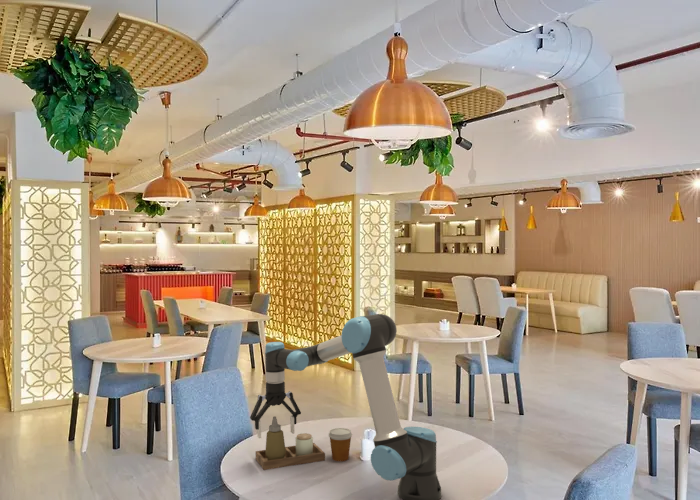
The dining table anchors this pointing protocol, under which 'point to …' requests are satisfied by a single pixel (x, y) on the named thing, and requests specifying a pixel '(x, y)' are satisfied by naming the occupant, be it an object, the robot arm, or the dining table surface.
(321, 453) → the caddy
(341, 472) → the dining table surface
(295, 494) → the dining table surface
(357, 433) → the dining table surface
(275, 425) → the squeeze bottle
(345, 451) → the disposable coffee cup
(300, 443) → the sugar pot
